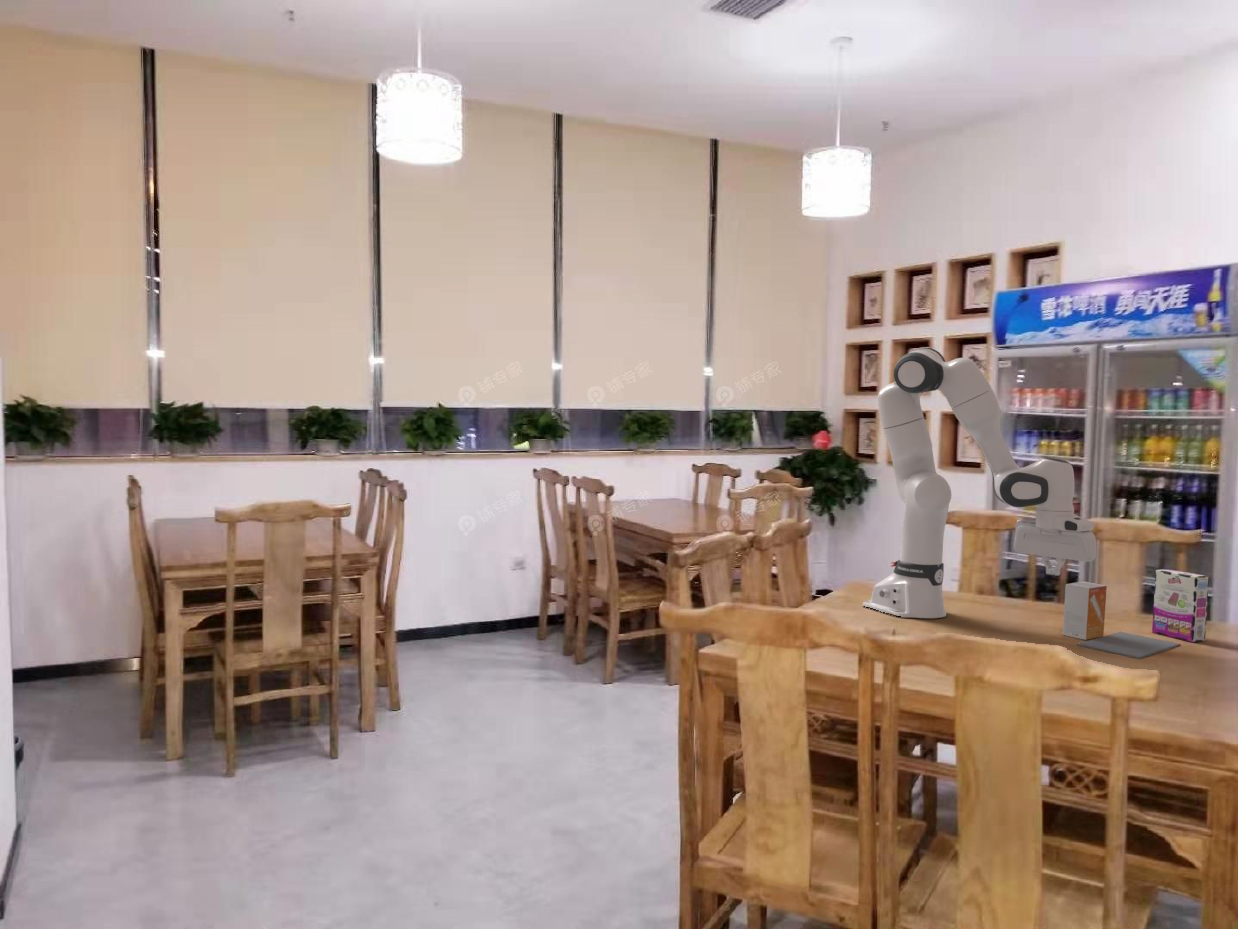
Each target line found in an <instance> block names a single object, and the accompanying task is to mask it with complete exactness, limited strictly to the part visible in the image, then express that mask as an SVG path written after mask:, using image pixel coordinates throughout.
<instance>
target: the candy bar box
mask: <svg viewBox="0 0 1238 929" xmlns="http://www.w3.org/2000/svg"><path fill="white" fill-rule="evenodd" d="M1154 575H1155V576H1154V579H1155V580H1154V591H1153V592H1154V596H1153V609H1152V610H1153V611H1152V612H1153V613H1152V629H1151V633H1152V634H1153V633H1154V634H1156V635H1160V636H1165V637H1168V638H1172V639H1173V638H1174V639H1176V640H1181V641H1184V642H1189V643H1202V642H1206V632H1207V617H1208V616H1207V615H1208V613H1207V612H1208V601H1209V600H1208V598H1209V597H1208V596H1209V584H1210V583H1209V581H1210V576H1209V575H1203V574H1198V573H1194V572H1187V571H1181V570H1175V569H1169V568H1167V569H1166V568H1163V569H1162V568H1161V569H1156V570H1155V574H1154Z"/></svg>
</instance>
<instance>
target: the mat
mask: <svg viewBox="0 0 1238 929" xmlns="http://www.w3.org/2000/svg"><path fill="white" fill-rule="evenodd" d="M1077 646H1078V647H1083V648H1087V649H1093V650H1097V651H1101V652H1105V651H1106V653H1110V654H1115V655H1120V656H1124V657H1128V658H1134V659H1137V660H1138V659H1139V660H1140V659H1142V658H1146V657H1148V656H1151V655H1155V654H1157V653H1161V652H1165V651H1167V650H1170V649H1173V648H1176V647H1179V646H1181V643H1180V642H1173V641H1168V640H1163V639H1158V638H1153V637H1147V636H1143V635H1139V634H1134V633H1129V632H1123V631H1118V632H1115V633H1114V632H1113V633H1111V634H1108V635H1103V637H1097V638H1092V639H1088V640H1085V641H1082V642H1079V643H1077Z"/></svg>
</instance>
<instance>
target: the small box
mask: <svg viewBox="0 0 1238 929" xmlns="http://www.w3.org/2000/svg"><path fill="white" fill-rule="evenodd" d="M1107 588H1108V586H1107V585H1106V584H1105V585H1104V584H1100V583H1099V584H1098V583H1094V582H1090V581H1089V582H1088V581H1079V582H1078V581H1075V582H1071V583H1066V584H1065V589H1064V604H1063V623H1062V624H1063V625H1062V635H1063V636H1067V637H1071V638H1075V639H1079V640H1085V641H1089V640H1093V639H1096V638H1100V637H1103V636H1105V635H1104V633H1105V632H1104V631H1105V630H1104V629H1105V615H1106V600H1107Z"/></svg>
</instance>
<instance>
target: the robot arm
mask: <svg viewBox="0 0 1238 929" xmlns="http://www.w3.org/2000/svg"><path fill="white" fill-rule="evenodd" d="M893 379H894V382H891V383H889V384H886V385H885V386H883V387H882V388H881V389H880V390H879V392H878V394H877V407H878V413H879V418H880V421H881V426H882V431H883V433H884V437H885V440H886V443H887V447H888V449H889V453H890V456H891V461H892V467H893V473H894V477H895V482H896V485H897V490H898V493H899V494H898V495H899V496H900V499H901V501H902V502H903V503H904V504H905V512H904V517H903V518H904V519H903V523H902V528H901V529H900V544H899V545H900V548H899V559H897V561H892V562H891V564H892V565H890V567H892V568H893V567H894V569H893V572H892V573H891V574H889V575H888V576H887V577H885V578H884V579H882V580H880V581H879V582H877V583H875V585H874V586H873V589H872V592H871V599H868V600H866V601H863V602H862V607H863V606H865V607H864V608H866V607H870V608H873V609H876V610H879V611H878V612H880V611H881V613H883V612H885V613H884V614H886V613H891V614H894V615H897V616H901V617H900V618H915V619H916V618H917V619H938V618H944V617H946V616H947V612H946V608H945V603H944V596H943V595H944V594H943V581H944V575H945V574H944V571H945V566H944V565H945V564H944V563H943V555H944V554H943V553H944V551H943V550H944V538H945V537H944V536H945V528H946V523H947V519H948V513H949V508H950V502H951V499H952V490H951V486H950V484H949V483H948V481H947V480H946V478H944V476H942V475H940V474H938V472H937V469H936V464H935V460H934V453H933V443H932V438H931V437H930V436H931V435H930V433H929V428H928V426H927V422H926V419H925V416H924V413H923V410H922V405H921V395H922V394H923V393H927V392H934V391H939V392H941V393H942V395H943V396H944V397H945V399H946V400H947V403H948V405H949V407H950V409H951V410H952V413H953V414H954V416H955V418H956V419H957V420H958V422H959V423H960V425H961V426H962V428H963V429H964V430H965V431H966V432H967V433H968V434H969V435H970V436H971V437H972V438H973V440H974V441H975V442H976V443H977V445H978V447H979V449H980V450H981V453H982V454H983V456H984V459H985V460H986V463H987V464H988V466H989V468H990V471H991V475H992V489H993V493H994V495H995V497H996V498H997V500H999V501H1000V502H1001V503H1004V504H1005V505H1009V506H1010V507H1012V508H1017V509H1021V508H1027V507H1033V506H1035V518H1025V517H1021V518H1020V519H1018V520H1017V521H1016V522H1015V534H1014V540H1013V550H1014V551H1015V553H1017V554H1024V555H1031V556H1038V557H1041V561H1042V563H1043V565H1044V567H1045V574H1046V575H1050V576H1051V575H1052V576H1056V577H1057V576H1061V569H1062V567H1063V566H1064V564H1065V563H1066V560H1071V561H1077V562H1078V561H1079V562H1086V563H1088V562H1092V561H1094V560H1095V559H1096V558H1097V554H1098V553H1097V539H1096V535H1095V534H1094V532H1093V531H1092V530H1094V527H1095V524H1094V522H1092V521H1091V520H1088V519H1087V518H1083V517H1081V516H1079V515H1077V514H1075V507H1074V504H1073V499H1074V496H1075V484H1076V483H1075V472H1074V468H1073V467H1074V466H1073V465H1071V463H1070V462H1068V461H1067V460H1066V459H1065V460H1064V459H1059V458H1056V457H1055V458H1054V457H1048V456H1045V457H1043V456H1042V457H1040V459H1038V460H1037V461H1036V460H1035V461H1034V462H1032V463H1031V464H1029V465H1026V466H1024V467H1021V466H1020V465H1019V464H1018V463H1017V462H1016V461H1015V459H1014V456H1013V455H1012V453H1011V451H1010V449H1009V447H1008V446H1007V443H1006V441H1005V439H1004V436H1003V434H1002V430H1001V419H1002V412H1001V409H1000V408H1001V407H1000V404H999V401H998V398H997V396H996V394H995V392H994V390H993V389H992V385H990V383H989V381H988V380H987V378H986V376H985V375H984V373H983V372H982V370H981V369H980V368H979V366H978V365H977V364H976V363H975V362H974V361H973V359H970V358H969V357H958V358H954V359H952V360H949V361H946V359H945V357H944V356H943V355H942V354H941V352H939V351H938V350H936V349H934V348H929V347H922V348H917V349H913V350H910V351H909V352H907V353H906V354H904V355H903V356H901V357H899V359H898V360H897V362H896V363H895V365H894V368H893ZM1052 558H1055V562H1056V563H1057V564H1056V565H1055V566H1052V564H1051V560H1052ZM870 608H869V609H870ZM873 609H872V610H873ZM876 610H875V611H876Z"/></svg>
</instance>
